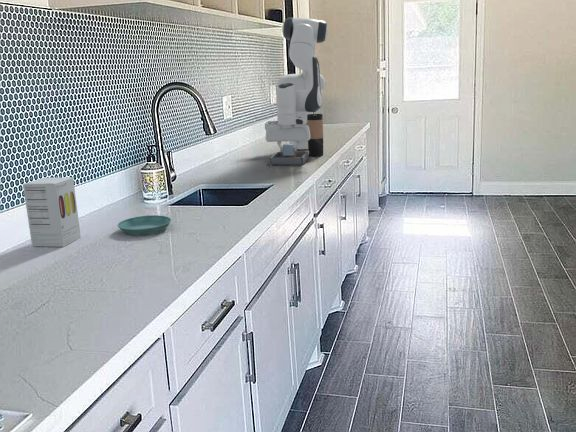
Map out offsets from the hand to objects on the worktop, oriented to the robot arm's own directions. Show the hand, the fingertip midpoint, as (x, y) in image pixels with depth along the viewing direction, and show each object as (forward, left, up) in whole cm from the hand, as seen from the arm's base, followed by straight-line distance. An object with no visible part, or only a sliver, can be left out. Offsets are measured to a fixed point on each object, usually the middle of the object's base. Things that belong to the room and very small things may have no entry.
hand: (288, 151), depth 266 cm
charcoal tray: (-4, 0, -6) cm, 7 cm away
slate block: (0, 0, -2) cm, 2 cm away
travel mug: (-23, +10, -6) cm, 25 cm away
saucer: (+111, -23, -6) cm, 114 cm away
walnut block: (-7, 0, -5) cm, 9 cm away
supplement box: (+123, -43, -6) cm, 131 cm away
